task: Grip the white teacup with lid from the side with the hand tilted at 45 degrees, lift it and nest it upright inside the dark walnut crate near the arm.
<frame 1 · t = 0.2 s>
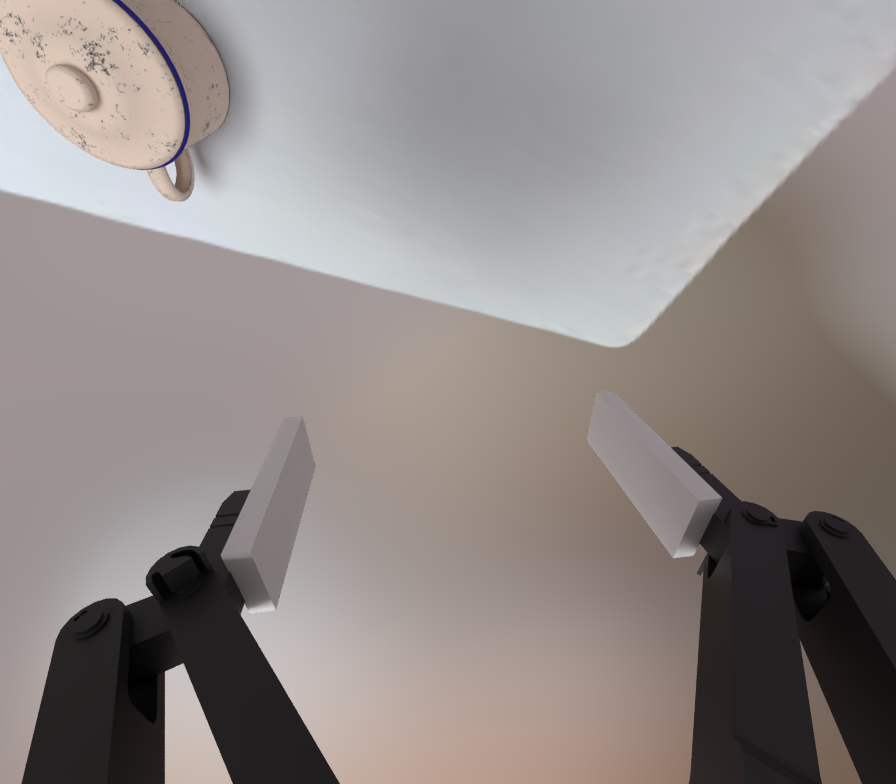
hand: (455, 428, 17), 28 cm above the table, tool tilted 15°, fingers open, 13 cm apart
teacup with lid: (177, 93, 29), on the table
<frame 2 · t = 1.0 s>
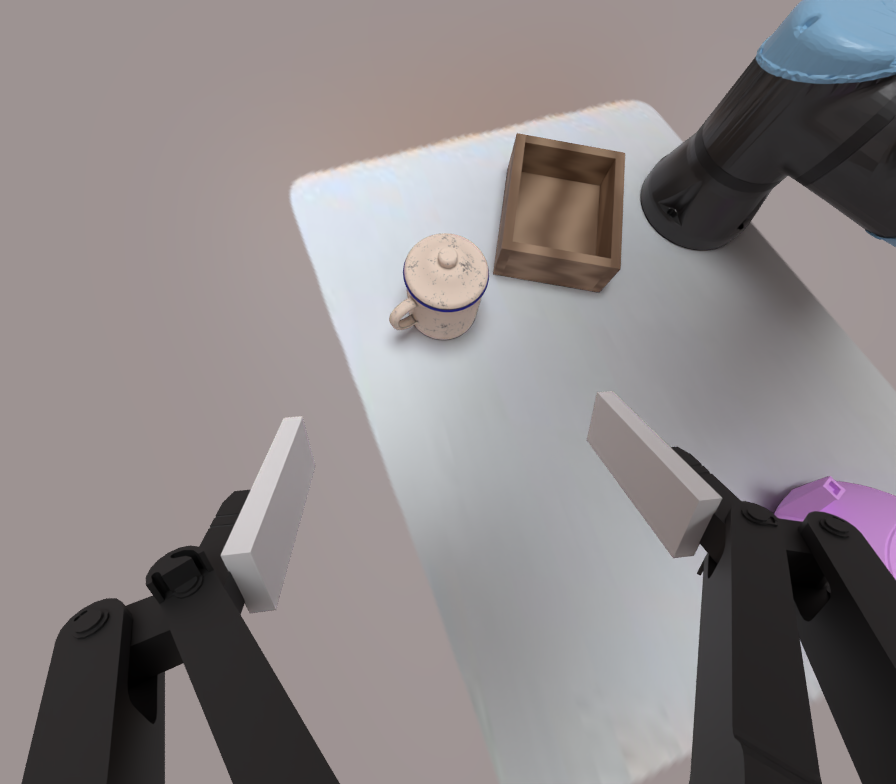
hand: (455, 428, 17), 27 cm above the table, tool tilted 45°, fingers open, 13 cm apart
teapot: (818, 549, 43), on the table
walnut crate: (551, 228, 51), on the table
teacup with lid: (433, 316, 47), on the table
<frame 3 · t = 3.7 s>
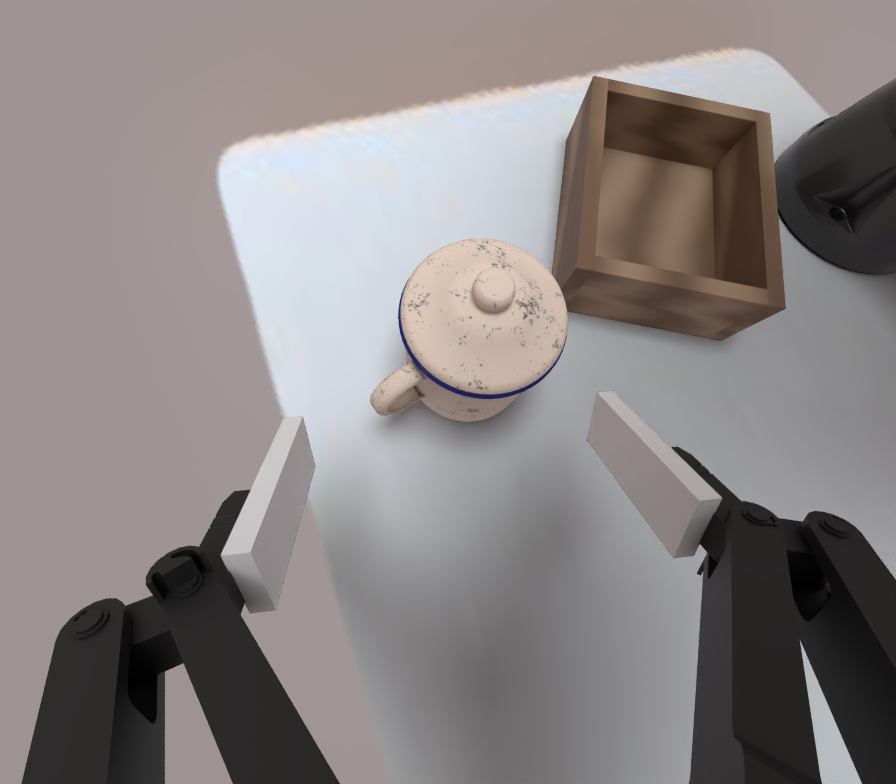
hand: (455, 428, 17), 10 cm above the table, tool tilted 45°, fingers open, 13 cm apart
walnut crate: (638, 233, 32), on the table
teacup with lid: (449, 378, 28), on the table
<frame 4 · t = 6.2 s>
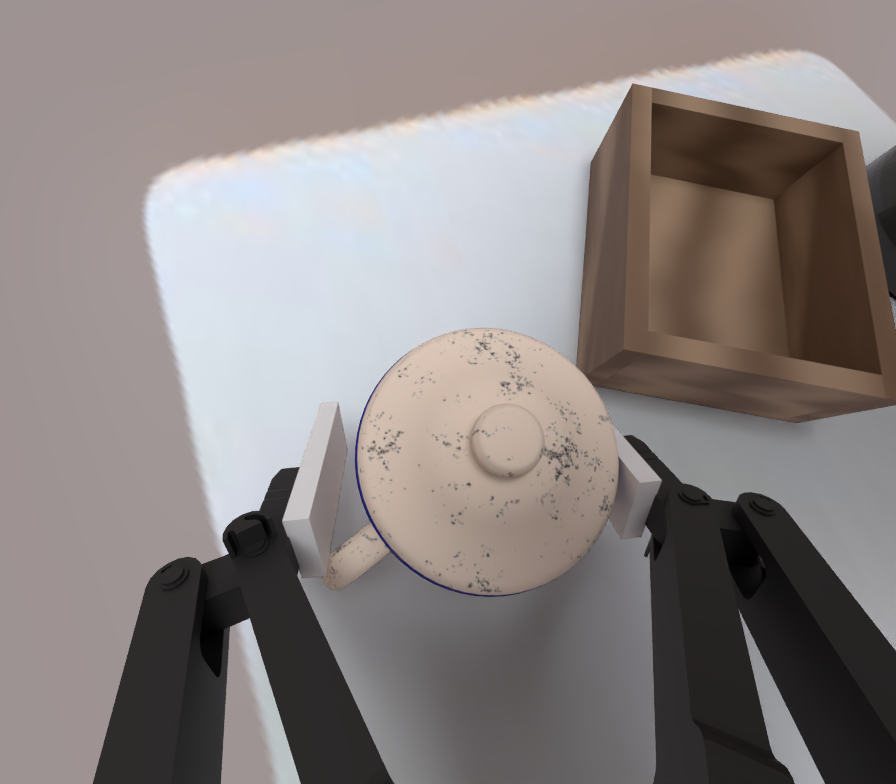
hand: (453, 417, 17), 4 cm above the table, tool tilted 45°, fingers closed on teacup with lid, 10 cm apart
walnut crate: (685, 281, 25), on the table
teacup with lid: (440, 483, 21), on the table, touching gripper
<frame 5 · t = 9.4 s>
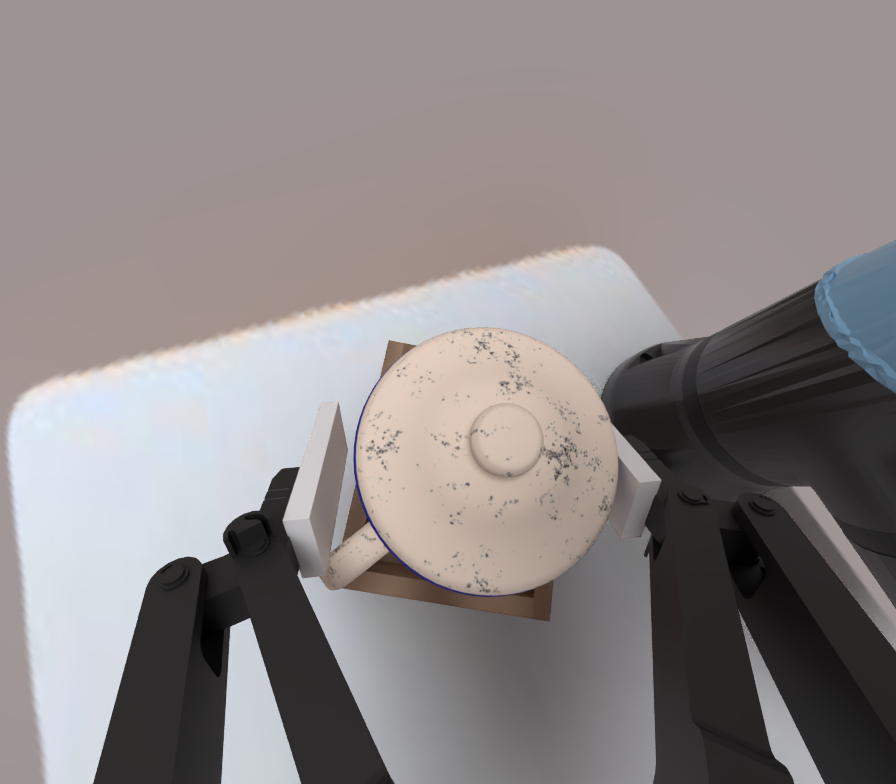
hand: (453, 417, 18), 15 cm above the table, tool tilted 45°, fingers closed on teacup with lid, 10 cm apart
walnut crate: (454, 473, 32), on the table
teacup with lid: (439, 483, 21), point 11 cm above the table, touching gripper
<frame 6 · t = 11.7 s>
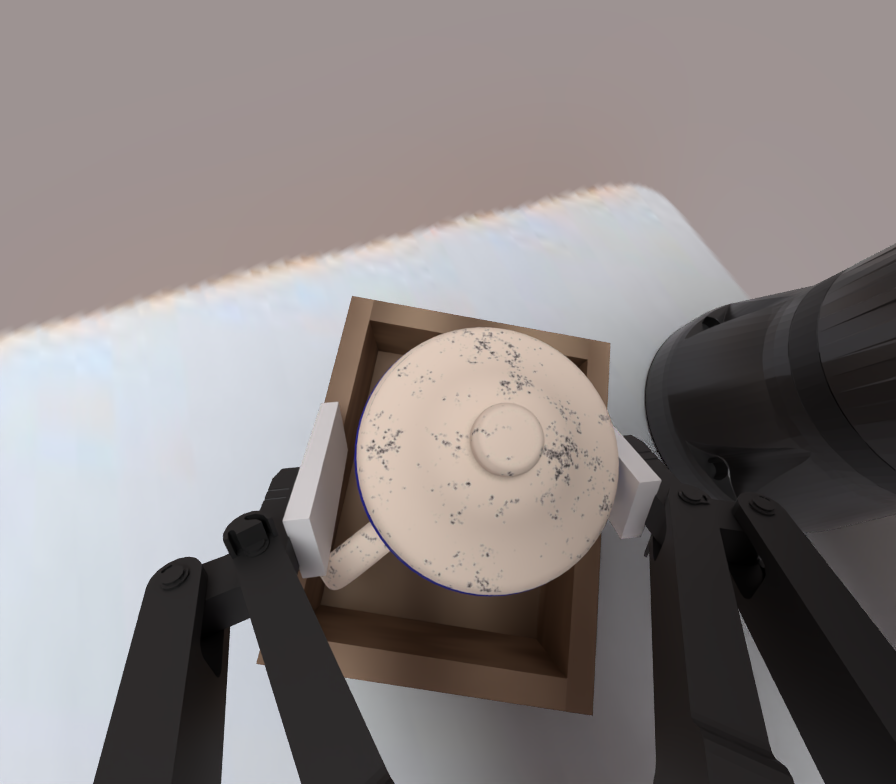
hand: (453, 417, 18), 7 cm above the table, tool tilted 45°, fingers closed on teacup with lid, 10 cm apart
walnut crate: (449, 483, 23), on the table
teacup with lid: (440, 482, 21), point 3 cm above the table, touching gripper
when the fingers open (7 cm above the table, at t = 12.6 s): teacup with lid drops 2 cm, resting on walnut crate.
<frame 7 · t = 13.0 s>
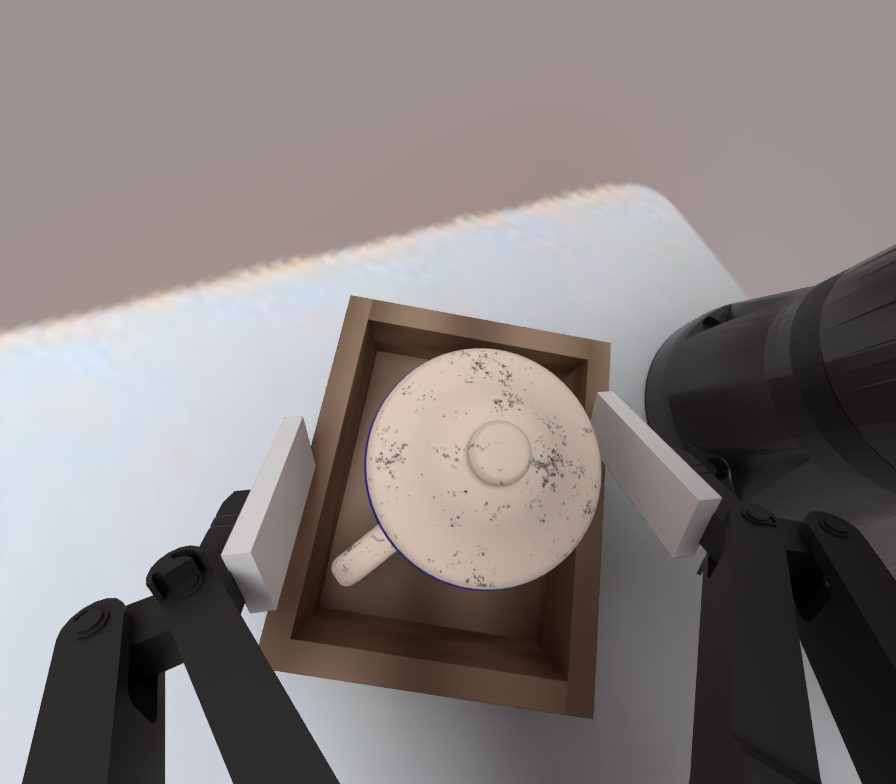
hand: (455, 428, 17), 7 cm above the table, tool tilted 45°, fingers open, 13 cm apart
walnut crate: (448, 484, 23), on the table
teacup with lid: (441, 486, 22), point 1 cm above the table, touching walnut crate
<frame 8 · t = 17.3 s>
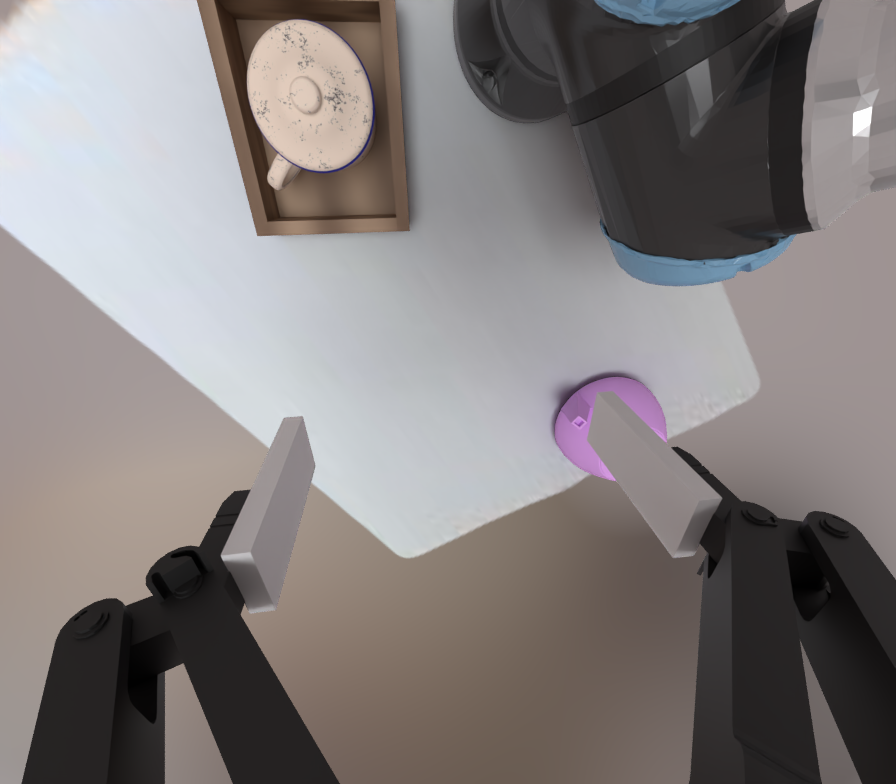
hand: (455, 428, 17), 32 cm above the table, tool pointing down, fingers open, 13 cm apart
teapot: (596, 414, 58), on the table
walnut crate: (327, 129, 36), on the table
teacup with lid: (321, 132, 35), point 1 cm above the table, touching walnut crate
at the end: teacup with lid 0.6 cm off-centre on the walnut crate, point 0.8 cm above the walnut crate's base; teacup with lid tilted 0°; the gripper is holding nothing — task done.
